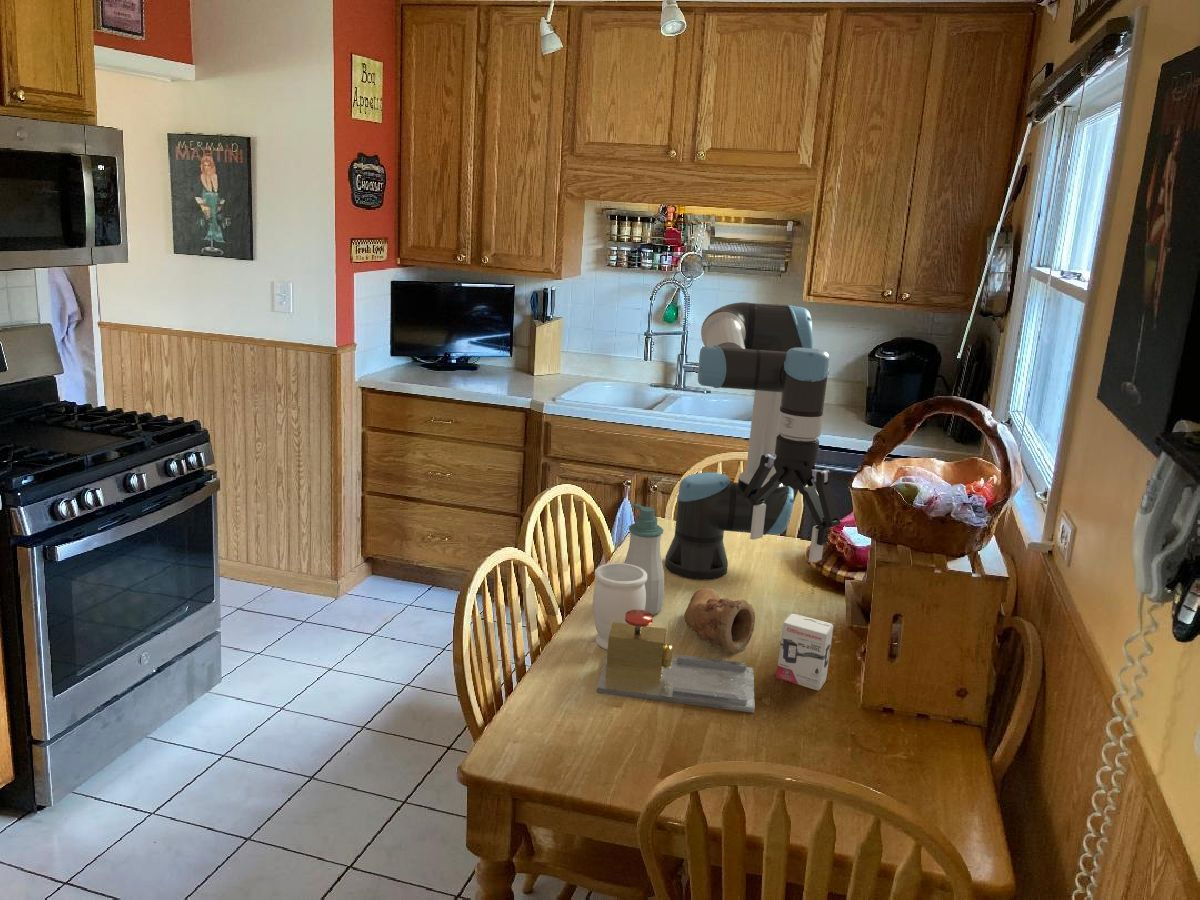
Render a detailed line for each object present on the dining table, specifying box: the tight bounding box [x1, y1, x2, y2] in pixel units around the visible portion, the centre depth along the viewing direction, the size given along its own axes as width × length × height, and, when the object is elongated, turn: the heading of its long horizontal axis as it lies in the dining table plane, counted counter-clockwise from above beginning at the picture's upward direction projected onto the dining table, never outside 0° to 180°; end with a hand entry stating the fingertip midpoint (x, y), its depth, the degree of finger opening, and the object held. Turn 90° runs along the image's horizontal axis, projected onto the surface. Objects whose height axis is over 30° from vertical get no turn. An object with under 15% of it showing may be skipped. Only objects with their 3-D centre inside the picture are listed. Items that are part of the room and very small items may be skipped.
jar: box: [592, 562, 648, 651], centre depth 186 cm, size 11×10×15 cm
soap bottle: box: [623, 503, 665, 617], centre depth 201 cm, size 10×10×23 cm
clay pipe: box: [683, 587, 756, 654], centre depth 193 cm, size 19×11×15 cm
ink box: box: [775, 613, 834, 692], centre depth 177 cm, size 8×5×12 cm, turn 61°
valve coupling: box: [596, 610, 756, 714], centre depth 173 cm, size 15×28×12 cm, turn 82°
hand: (784, 549), depth 172 cm, fingers open, 13 cm apart
